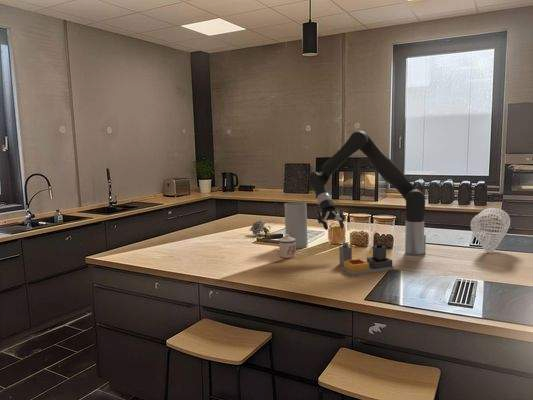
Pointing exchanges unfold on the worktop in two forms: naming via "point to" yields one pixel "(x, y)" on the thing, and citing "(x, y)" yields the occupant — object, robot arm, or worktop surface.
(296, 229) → the cylinder vase
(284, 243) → the teacup with lid
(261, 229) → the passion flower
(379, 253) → the multicoloured piece
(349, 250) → the plug
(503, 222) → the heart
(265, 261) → the worktop surface
